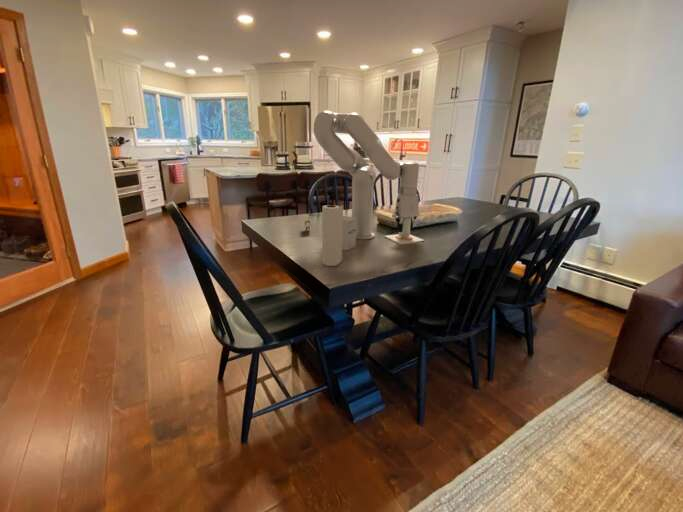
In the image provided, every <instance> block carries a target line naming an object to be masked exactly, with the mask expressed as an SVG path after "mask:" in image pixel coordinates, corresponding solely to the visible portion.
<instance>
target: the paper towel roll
mask: <svg viewBox="0 0 683 512" xmlns="http://www.w3.org/2000/svg"><path fill="white" fill-rule="evenodd" d="M321 209H322V213H321V215H322V216H321V217H322V221H321V225H322V231H321V232H322V241H321V242H322V247H321V248H322V249H321V250H322V251H321V252H322V257H321V258H322V265H324V266H328V267H335V266H338V265H339V264H341V262H342V261H343V250H342V238H343V216H344V205H341V206H339V205H336V204H334V205H333V204H327V205H325V204H324V205H322V208H321Z"/></svg>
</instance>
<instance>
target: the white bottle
mask: <svg viewBox="0 0 683 512" xmlns="http://www.w3.org/2000/svg"><path fill="white" fill-rule="evenodd" d="M356 224H357V218H353V217H352V216H345V215H343V238H342V251H346V250H347V251H348V250H350V249H353V248H355V247H356V244H357V243H356V242H357V239H356Z"/></svg>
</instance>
